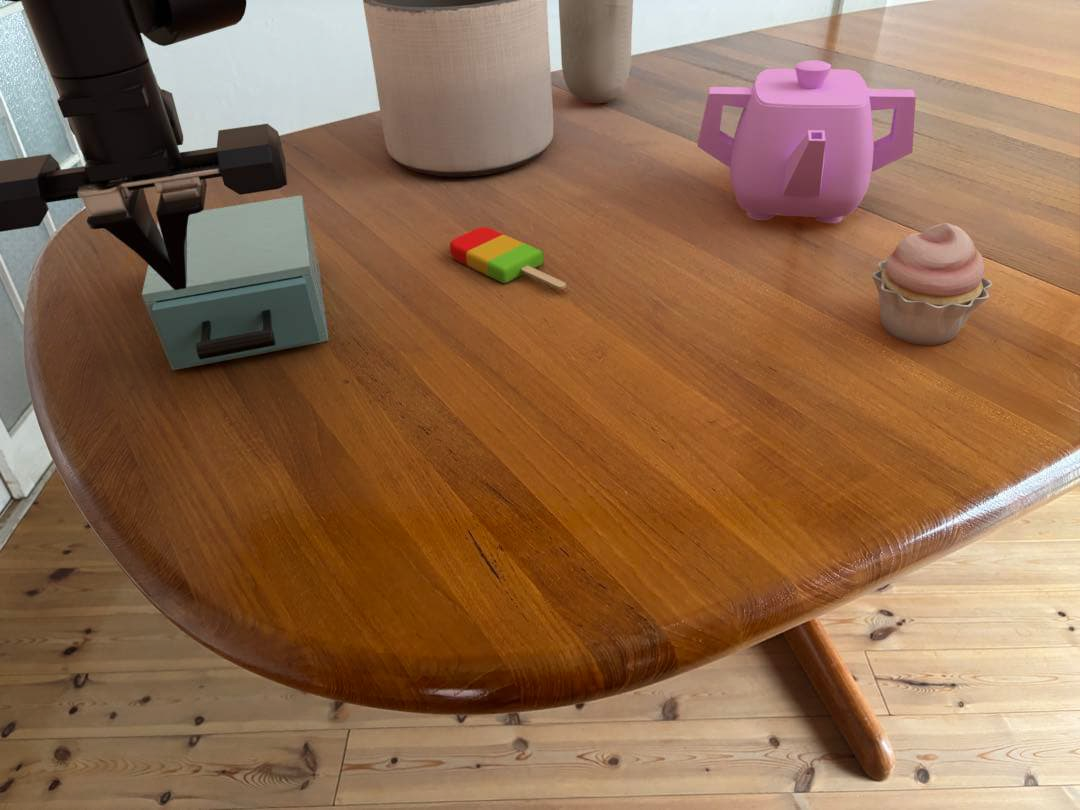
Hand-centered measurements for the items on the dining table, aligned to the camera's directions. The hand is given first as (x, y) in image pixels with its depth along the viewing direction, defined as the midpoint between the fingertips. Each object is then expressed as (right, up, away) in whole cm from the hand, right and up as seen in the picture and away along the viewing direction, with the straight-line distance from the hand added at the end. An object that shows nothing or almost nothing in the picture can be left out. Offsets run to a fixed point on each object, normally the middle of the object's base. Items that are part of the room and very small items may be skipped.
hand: (181, 286), depth 60 cm
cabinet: (-2, 0, +20) cm, 20 cm away
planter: (+17, +26, +51) cm, 60 cm away
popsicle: (+24, +5, +24) cm, 34 cm away
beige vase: (+35, +37, +64) cm, 82 cm away
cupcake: (+60, -2, +12) cm, 61 cm away
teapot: (+55, +14, +33) cm, 66 cm away
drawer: (-1, -1, +16) cm, 16 cm away
